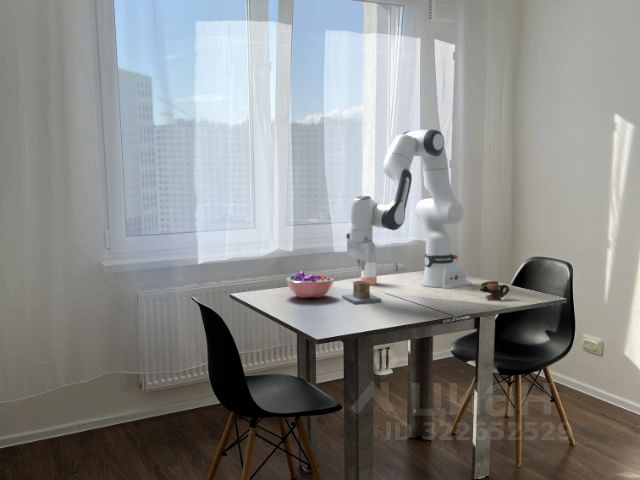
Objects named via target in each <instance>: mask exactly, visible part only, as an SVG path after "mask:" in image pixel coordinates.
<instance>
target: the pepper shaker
mask: <svg viewBox="0 0 640 480" xmlns="http://www.w3.org/2000/svg"><path fill="white" fill-rule="evenodd" d="M375 248H376V250H377V245H375ZM360 281H367V282H369V283H370V286H374V285H377V265H376V261H375V262H371V263H368V262H366V265H365V270H364V271H361V275H360Z"/></svg>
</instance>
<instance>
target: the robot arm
mask: <svg viewBox="0 0 640 480" xmlns="http://www.w3.org/2000/svg"><path fill="white" fill-rule="evenodd" d="M445 149H446V148H445V138H444V135H443V133H442V132H441V131H439V130H437V129H432V128H431V129H417V130H412V131H411V130H410V131H405V132H403V133H402V134H398V135H397V136H396V137H395V138H394V140H393V141H392V143H391V145H390V146H389V148H388V151H386V152H387V153H386V155H385V158H384V161H383V165H382V168H383V171H384V173H385V175H386V176H387V177H388V178H390V179H391V180H392V181H393V182H395V190H394V194H393V198H392V201H391V202H390V203H388V204H386V203H379V202H376V201H375V200H374V199H372V197H371V196H369V195H360V196H356V197H354V198H353V199H352V201H351V205H350V220H351V226H350V231H349V232H347V233H346V235H345V238H346V250H347V251H346V252H347V256H349V257H352V258H354V259H356V260H355V261H356V264H357V270H359V271H361V272H362V271H364V270H365V265H366V262H368V263H371V262H375V263H376V260H377V252H376V251H377V249H376V248H377V247H376V248H375V246H376V245H375V242H373V237H374V236H373V235H374V234H373V233H374V232H373V231H374V230H373V227H375V228H381V229H386V230H387V229H388V230H391V231H396V230H399V228H401V227H402V226H403V224H404V223H405V219H406V208H407V203H408V200H409V194H410V190H411V186H412V179H413V177H412V173H411V171H410V169H411V166H412V163H413V159H414V157H421V158H422V175H423V185H424V188H425V189H426V191H428V192H429V194H430V196H431V197H430V198H424V199H420V200H419V201H418V202H417V203H416V207H415V214H416V216H417V218H418V219H419V221H420V222H421V225H422V227H423V231H424V235H425V253H424V273H423V278H422V281H421V285H422V286H427V287H432V288H443V289H451V288H452V289H453V288H459V287H463V286H470V285H472V281H470V280H468V279H467V275H466V271H465V269H464V268H462V267H461V266H460V265H459V264H458V263H456V262H455V260H458V259H459V255H457V254H453V253H451V252H452V250H451V249H452V246H451V245H452V237H451V235H450V234H449V232H447V230H446V227H445V225H449V226H450V225H456V224H459V223H460V222H461V221H462V219H463V217H464V213H465V211H464V207H463V205H462V204H461V203H460V202H459V200H457V199H456V196H455V194H454V192H453V190H452V187H451V183H450V173H449V164H448V163H449V162H448V158H447V154H446V153H447V152H446V150H445Z"/></svg>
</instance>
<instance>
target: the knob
mask: <svg viewBox="0 0 640 480" xmlns="http://www.w3.org/2000/svg"><path fill="white" fill-rule="evenodd" d="M352 282H353V284H352V287H353V289H352V290H353V292H352V294H353V296H354V297H356V298H358V299H361V298H370V294H371V292H370V291H371V290H370V289H371V285H370V283H369V282H367V281H361V280H355V281H352Z"/></svg>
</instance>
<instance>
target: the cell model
mask: <svg viewBox="0 0 640 480" xmlns="http://www.w3.org/2000/svg"><path fill="white" fill-rule="evenodd" d="M285 280H286V282H287V285H288V287H289V290H290V291H291V292H292V293H293V295H294V296H297V297H298V298H301V299H312V298H322V297H324V296H325V295H327V294H328V293H329V292H330V290H331V289H332V286H333V285H334V284H333V283H334V280H335V279H334V278H333V277H330V276H328V275H324V274H323V275H322V274H305V272H304V270H300V271H298V272H297V273H296V274H295V275H291V276H287V278H286V279H285Z"/></svg>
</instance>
